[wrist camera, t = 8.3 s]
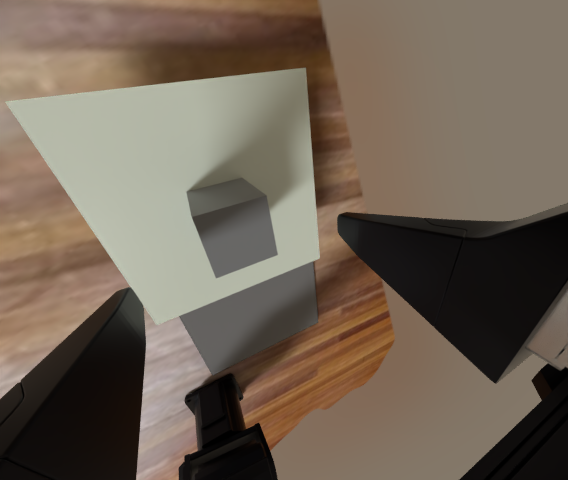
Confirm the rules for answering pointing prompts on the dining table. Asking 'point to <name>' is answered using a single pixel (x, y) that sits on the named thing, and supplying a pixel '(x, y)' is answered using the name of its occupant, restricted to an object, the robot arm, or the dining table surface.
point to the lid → (188, 180)
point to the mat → (253, 318)
